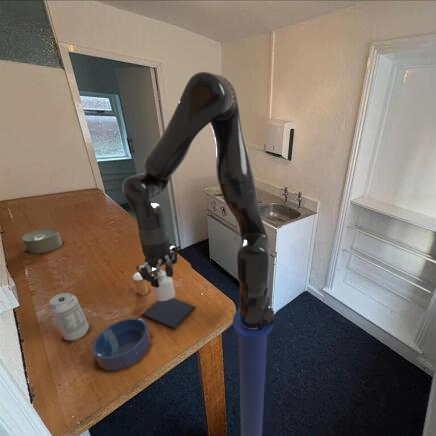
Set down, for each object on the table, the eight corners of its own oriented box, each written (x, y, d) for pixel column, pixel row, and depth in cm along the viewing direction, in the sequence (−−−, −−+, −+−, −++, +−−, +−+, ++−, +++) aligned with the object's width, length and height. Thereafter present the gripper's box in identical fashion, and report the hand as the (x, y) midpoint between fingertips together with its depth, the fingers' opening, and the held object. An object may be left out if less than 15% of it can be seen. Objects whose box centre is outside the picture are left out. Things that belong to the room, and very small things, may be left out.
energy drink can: (85, 322, 77) (70, 288, 71) (92, 332, 74) (77, 297, 68) (61, 334, 73) (43, 299, 66) (68, 345, 70) (50, 309, 63)
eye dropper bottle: (161, 292, 83) (155, 265, 78) (177, 293, 83) (172, 266, 78) (154, 301, 79) (148, 273, 74) (171, 302, 79) (166, 275, 74)
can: (65, 238, 120) (60, 226, 117) (60, 250, 111) (55, 237, 108) (32, 243, 114) (26, 231, 111) (24, 256, 105) (17, 243, 102)
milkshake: (132, 296, 89) (126, 275, 85) (143, 287, 94) (138, 267, 89) (141, 299, 88) (136, 278, 84) (153, 289, 93) (148, 269, 89)
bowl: (160, 338, 74) (157, 326, 72) (120, 378, 63) (115, 366, 61) (129, 324, 78) (125, 312, 76) (86, 360, 67) (80, 347, 64)
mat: (194, 307, 86) (194, 306, 86) (174, 329, 78) (173, 327, 78) (165, 296, 90) (164, 295, 90) (142, 315, 82) (141, 313, 81)
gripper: (143, 252, 63) (153, 299, 71) (181, 230, 76) (187, 272, 83) (123, 246, 65) (135, 291, 73) (163, 225, 78) (170, 266, 85)
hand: (163, 281), depth 78 cm, fingers closed on eye dropper bottle, 5 cm apart
